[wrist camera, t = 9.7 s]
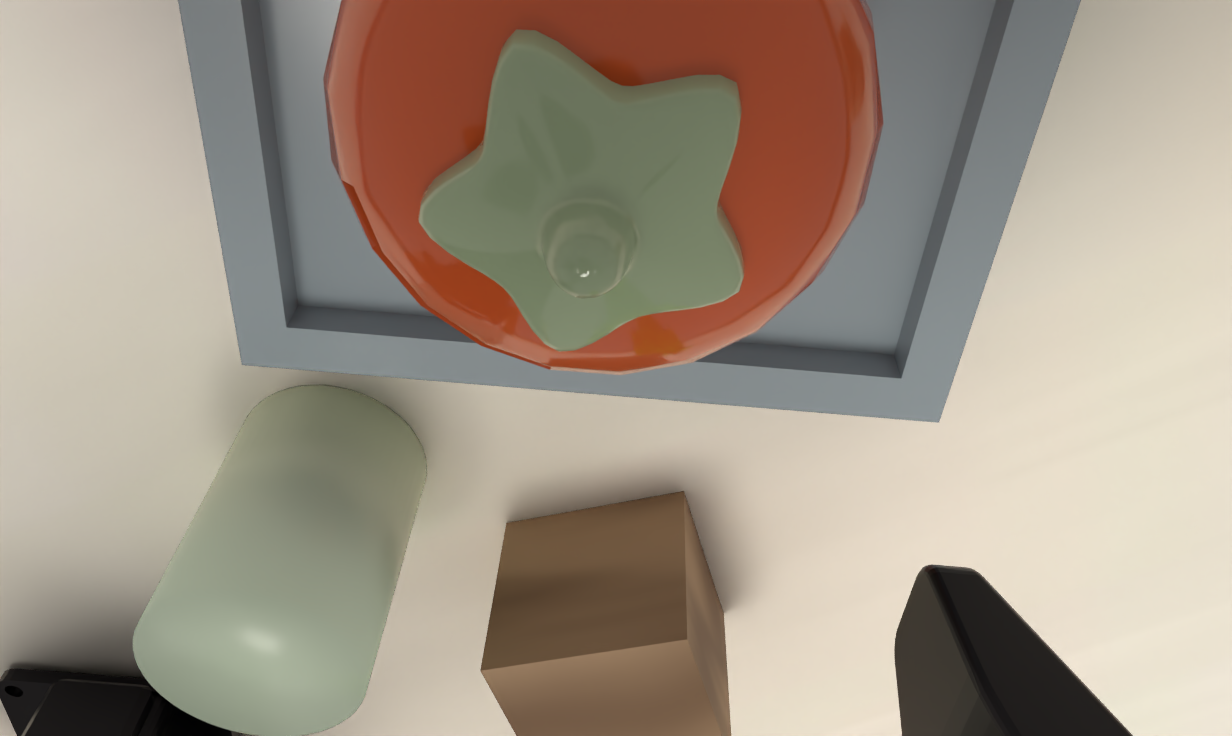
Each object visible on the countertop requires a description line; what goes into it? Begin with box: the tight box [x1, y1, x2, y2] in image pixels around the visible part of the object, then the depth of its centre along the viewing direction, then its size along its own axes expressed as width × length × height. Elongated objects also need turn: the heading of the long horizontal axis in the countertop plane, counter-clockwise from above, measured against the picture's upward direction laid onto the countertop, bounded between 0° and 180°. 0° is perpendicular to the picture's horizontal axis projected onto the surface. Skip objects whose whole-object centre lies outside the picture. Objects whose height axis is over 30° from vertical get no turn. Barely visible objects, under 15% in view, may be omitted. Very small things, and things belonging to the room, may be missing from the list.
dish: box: [178, 0, 1081, 422], centre depth 17 cm, size 14×14×2 cm
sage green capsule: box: [133, 385, 427, 736], centre depth 22 cm, size 4×4×6 cm
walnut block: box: [481, 491, 731, 736], centre depth 24 cm, size 4×4×4 cm
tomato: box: [323, 0, 884, 375], centre depth 14 cm, size 7×7×8 cm
